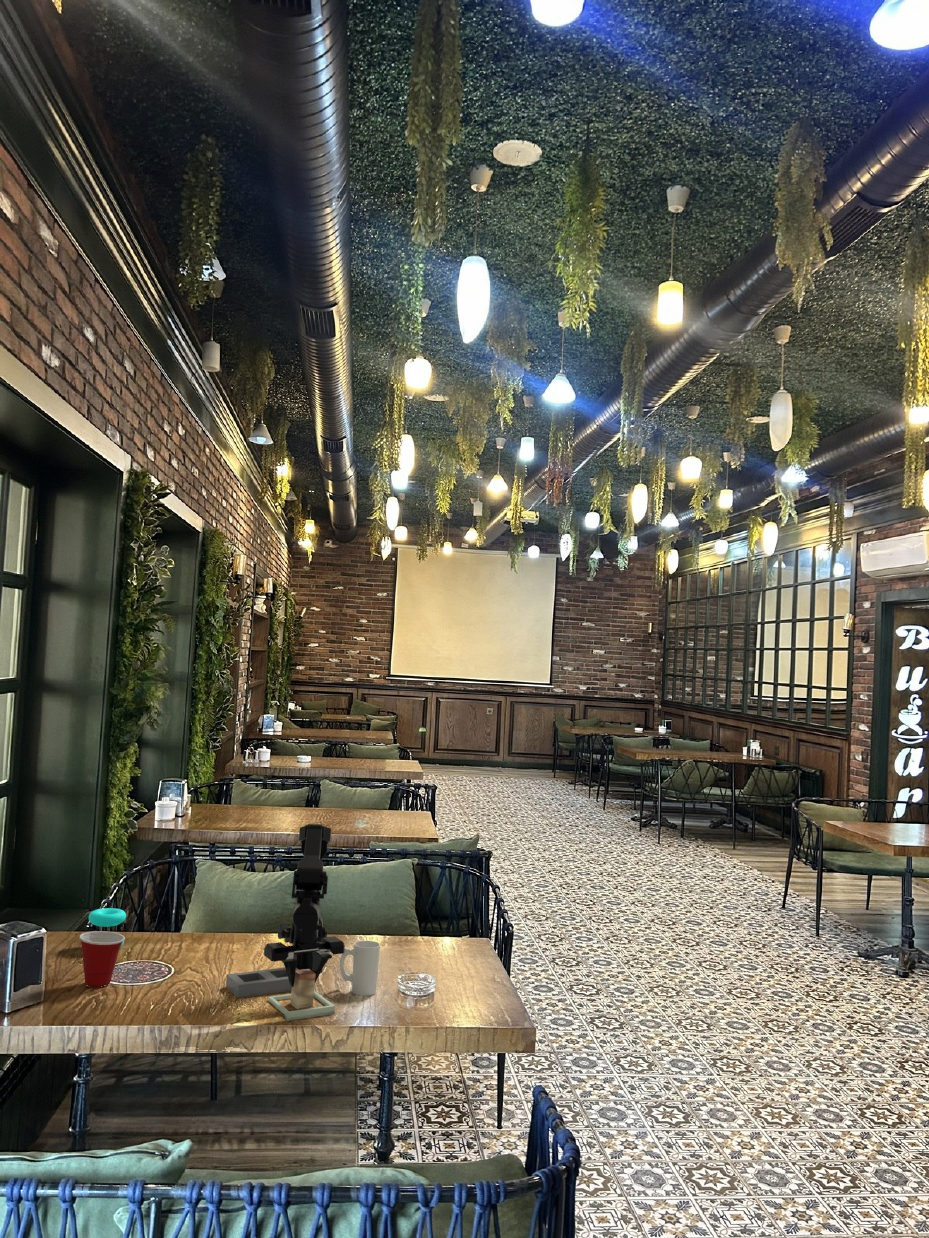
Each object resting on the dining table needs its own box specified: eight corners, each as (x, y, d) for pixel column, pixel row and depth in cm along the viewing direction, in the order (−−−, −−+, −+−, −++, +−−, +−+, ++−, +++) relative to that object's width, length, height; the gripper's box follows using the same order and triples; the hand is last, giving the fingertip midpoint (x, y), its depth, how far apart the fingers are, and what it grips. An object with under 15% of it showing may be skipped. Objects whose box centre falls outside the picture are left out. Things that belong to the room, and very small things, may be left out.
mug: (376, 987, 242) (379, 940, 243) (377, 996, 235) (380, 948, 236) (337, 987, 241) (340, 939, 242) (337, 995, 234) (340, 947, 235)
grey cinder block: (293, 981, 243) (294, 966, 243) (306, 992, 236) (307, 976, 236) (225, 990, 234) (226, 974, 234) (237, 1001, 226) (238, 984, 226)
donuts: (133, 908, 269) (114, 917, 259) (130, 944, 268) (111, 953, 259) (101, 905, 271) (81, 913, 261) (98, 940, 270) (78, 950, 260)
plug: (305, 1002, 226) (308, 968, 227) (312, 1007, 223) (315, 973, 224) (290, 1004, 224) (293, 970, 225) (296, 1009, 221) (300, 974, 222)
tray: (314, 997, 232) (314, 990, 232) (334, 1013, 222) (334, 1005, 222) (267, 1004, 225) (268, 996, 226) (286, 1020, 215) (287, 1012, 215)
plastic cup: (119, 990, 229) (123, 940, 230) (72, 991, 226) (76, 941, 227) (123, 976, 240) (127, 929, 241) (78, 977, 237) (82, 929, 238)
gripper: (328, 907, 237) (324, 970, 236) (258, 914, 227) (253, 979, 226) (347, 918, 227) (343, 984, 226) (274, 925, 218) (270, 994, 216)
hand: (302, 985), depth 224 cm, fingers open, 5 cm apart
